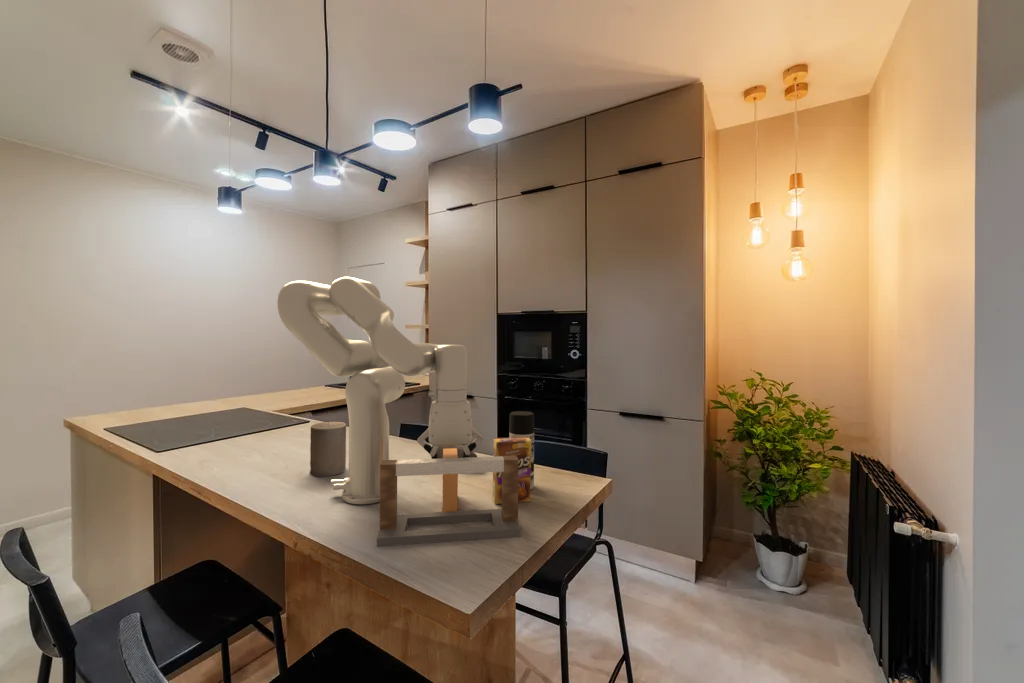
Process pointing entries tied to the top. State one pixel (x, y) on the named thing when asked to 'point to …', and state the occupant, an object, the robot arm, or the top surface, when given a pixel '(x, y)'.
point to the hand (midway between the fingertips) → (450, 470)
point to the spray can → (523, 432)
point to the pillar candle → (328, 448)
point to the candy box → (523, 453)
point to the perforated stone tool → (459, 448)
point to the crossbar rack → (396, 524)
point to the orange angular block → (450, 485)
